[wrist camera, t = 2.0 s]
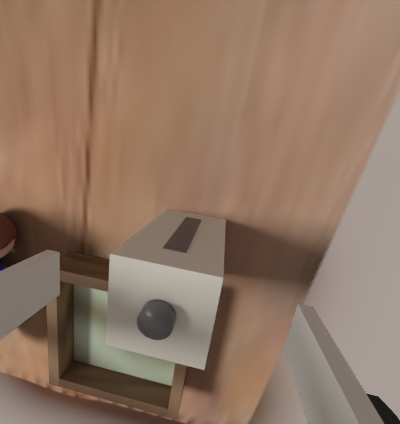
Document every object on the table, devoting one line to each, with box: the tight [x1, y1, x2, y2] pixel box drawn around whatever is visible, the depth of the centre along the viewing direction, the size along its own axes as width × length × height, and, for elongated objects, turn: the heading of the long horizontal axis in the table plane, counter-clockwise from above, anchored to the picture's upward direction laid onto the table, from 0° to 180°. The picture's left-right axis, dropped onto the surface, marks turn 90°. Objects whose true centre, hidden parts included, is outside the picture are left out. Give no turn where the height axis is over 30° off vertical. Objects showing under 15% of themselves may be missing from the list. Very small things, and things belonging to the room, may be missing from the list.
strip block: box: [106, 209, 226, 370], centre depth 13 cm, size 5×5×10 cm
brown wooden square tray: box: [46, 252, 187, 419], centre depth 19 cm, size 13×13×3 cm
